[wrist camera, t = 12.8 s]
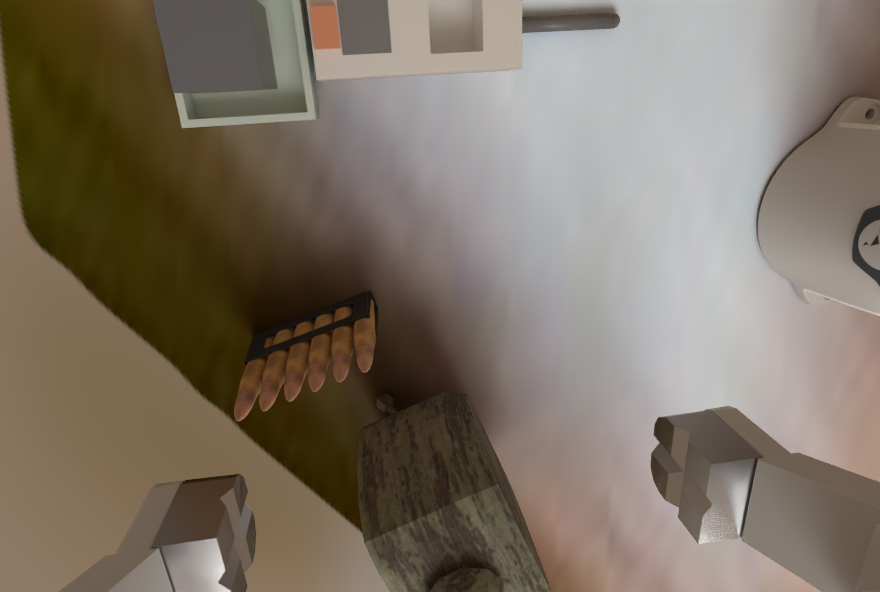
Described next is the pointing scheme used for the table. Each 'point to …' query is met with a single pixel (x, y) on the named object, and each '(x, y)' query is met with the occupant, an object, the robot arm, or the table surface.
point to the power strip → (426, 36)
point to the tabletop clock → (441, 503)
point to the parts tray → (264, 105)
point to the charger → (216, 45)
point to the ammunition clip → (308, 352)
